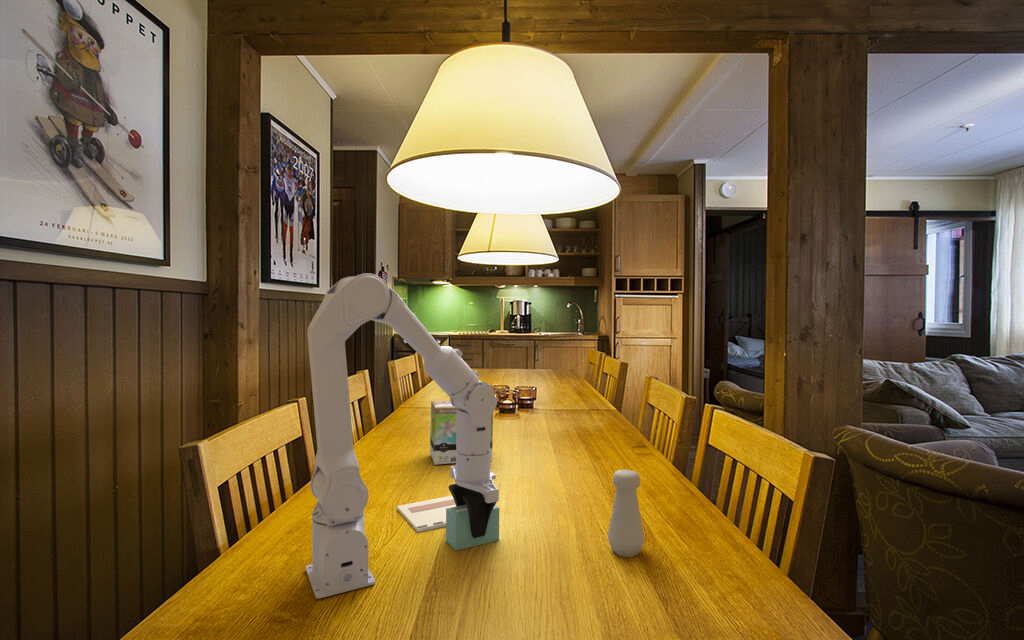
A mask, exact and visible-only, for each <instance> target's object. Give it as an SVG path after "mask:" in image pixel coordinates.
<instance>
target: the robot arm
mask: <svg viewBox="0 0 1024 640" xmlns="http://www.w3.org/2000/svg"><path fill="white" fill-rule="evenodd" d="M370 321H373V322H376V323H381V324H382V325H387V326H389V327H390V328H392V330H393V331H395V332H396V334H398V335H399V336H400V338H402V339H403V340H404V342H406V343H407V344H408V345H409V346H410V347H411V349H413V350H414V351H415V352H416V353H417V354H419V356H421V358H422V359H423V360H424V361H423V366H424V368H423V369H424V372H425V373H426V375H428V376H429V378H430V379H432V380H433V382H434V383H436V384H437V386H438V387H440V389H442V391H443V392H444V393H445V394H446V395H447V396H448V397H449V401H451V404H452V406H454V407H456V408H457V409H459V410H457V423H456V463H455V465H452V466H451V465H450V477H451V479H453V480H454V483H453V484H449V485H448V490H449V492H450V493H451V496H453V498H454V501H455V504H456V506H461V505H466V506H467V509H468V513H469V518H470V528H471V534H472V537H473V538H478V537H482V536H485V533H486V529H487V525H488V521H489V518H490V515H491V512H492V510H493V508H494V506H495V505H496V504H497V503H498V502H499V499H500V498H499V497H500V495H499V494H500V493H499V492H500V491H499V490H500V489H499V488H497V486H496V484H495V483H494V480H495V479H496V477H497V475H496V473H494V472H493V471H492V472H491V462H490V422H491V415H492V412H493V413H494V410H495V409H496V407H497V405H498V397H496V395H495V391H494V389H493V387H492V386H491V385H490V384H489V383H487V382H484V381H482V380H480V378H479V376H480V373H479V372H478V371H477V370H473V369H471V367H470V366H469V365H468V363H466V361H465V360H464V359H463V358H462V356H463V352H462V351H461V350H460V349H458V348H453V347H452V346H448V345H443V346H442V345H440V344H439V343H438V342H437V341H436V339H435V338H434V337H433V335H432V334H431V333H430V331H428V329H427V328H426V327H425V326H424V324H422V322H421V321H420V320H419V319H418V318H417V316H416V315H415V314H414V313H413V312H412V310H411V309H410V308H409V307H408V306H407V304H406V303H405V302H404V300H403V299H402V298H401V296H400V295H399V294H398V293H397V292H396V290H394V289H393V288H391V287H390V288H389V287H388V284H387V282H385V280H384V279H383V278H381V277H380V276H378V275H377V274H374V273H370V272H369V273H368V272H367V273H366V272H365V273H361V274H357V275H355V276H347V277H343V278H341V279H340V280H338V281H337V282H336V283H334V285H332V286H331V287H329V289H327V290H326V292H325V294H324V297H323V300H322V302H321V303H320V305H319V307H318V308H317V310H316V312H315V314H314V316H313V318H312V320H311V321H310V323H309V325H308V327H307V333H306V334H307V344H308V345H307V346H308V357H309V366H310V368H309V369H310V379H311V390H312V401H313V411H314V412H313V413H314V414H313V415H314V425H315V436H316V449H317V452H316V455H315V457H314V465H315V467H314V472H313V473H312V477H311V479H310V491H311V493H312V496H313V497H315V499H317V503H316V504H315V506H314V508H313V510H312V513H311V539H312V540H311V541H312V542H311V559H312V560H311V562H312V563H311V564H308V565H306V566H305V571H306V574H307V577H308V581H309V583H310V585H311V588H312V592H313V595H314V597H315V599H319V600H320V599H322V598H323V599H324V598H326V597H331V596H336V595H338V594H343V593H346V592H351V591H353V590H357V589H361V588H365V587H368V586H373V585H375V584H376V579H375V577H374V575H373V574H372V572H371V570H370V569H369V539H368V538H367V536H366V533H365V510H366V507H367V505H368V501H369V490H368V486H367V485H366V484H365V482H364V481H363V479H362V477H361V473H360V465H359V462H358V459H357V456H356V452H355V449H354V438H353V437H354V436H353V426H352V412H351V402H350V401H351V400H350V390H349V389H350V388H349V376H348V367H347V366H348V364H347V354H346V341H347V340H348V339H349V338H350V337H351V336H352V334H354V333H355V331H357V329H359V328H360V327H361V326H362V325H363V324H365V323H367V322H370Z"/></svg>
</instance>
